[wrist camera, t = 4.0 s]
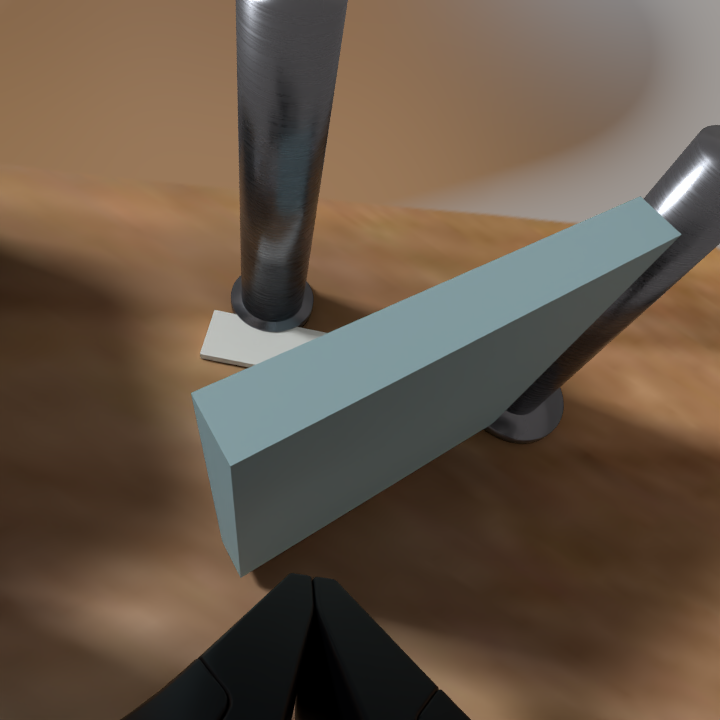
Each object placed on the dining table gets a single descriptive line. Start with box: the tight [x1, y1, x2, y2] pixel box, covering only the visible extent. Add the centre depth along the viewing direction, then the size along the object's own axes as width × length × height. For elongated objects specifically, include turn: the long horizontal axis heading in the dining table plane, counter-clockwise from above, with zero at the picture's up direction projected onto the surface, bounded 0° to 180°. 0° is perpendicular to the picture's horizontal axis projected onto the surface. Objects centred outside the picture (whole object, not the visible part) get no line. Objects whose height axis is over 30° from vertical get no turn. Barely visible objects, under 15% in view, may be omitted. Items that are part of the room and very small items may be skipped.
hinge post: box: [484, 125, 720, 444], centre depth 16 cm, size 4×4×12 cm
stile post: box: [231, 0, 348, 332], centre depth 16 cm, size 3×3×12 cm
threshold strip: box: [200, 310, 327, 367], centre depth 20 cm, size 10×2×1 cm, turn 83°
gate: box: [191, 197, 682, 578], centre depth 13 cm, size 10×1×10 cm, turn 123°
